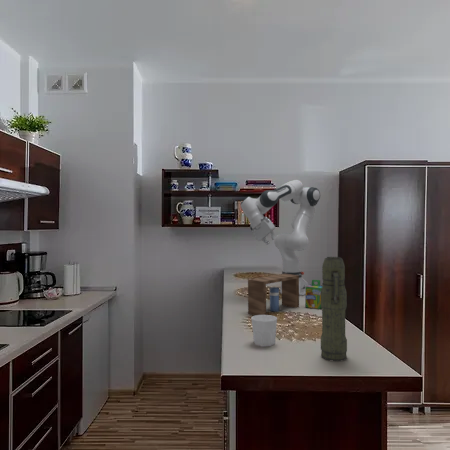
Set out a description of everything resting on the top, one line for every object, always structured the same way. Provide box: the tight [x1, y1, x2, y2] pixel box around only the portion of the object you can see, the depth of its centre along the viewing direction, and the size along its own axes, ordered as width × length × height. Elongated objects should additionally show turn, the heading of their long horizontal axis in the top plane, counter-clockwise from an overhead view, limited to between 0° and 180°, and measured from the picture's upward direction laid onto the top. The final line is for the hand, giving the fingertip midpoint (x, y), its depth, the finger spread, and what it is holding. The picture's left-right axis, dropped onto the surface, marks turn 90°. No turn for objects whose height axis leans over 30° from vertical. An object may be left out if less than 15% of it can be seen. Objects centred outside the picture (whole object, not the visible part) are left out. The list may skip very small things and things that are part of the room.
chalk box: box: [304, 279, 322, 310], centre depth 214 cm, size 9×9×15 cm
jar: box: [269, 286, 280, 312], centre depth 207 cm, size 5×5×12 cm
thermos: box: [320, 256, 348, 362], centre depth 137 cm, size 9×12×35 cm
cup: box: [250, 314, 278, 347], centre depth 153 cm, size 10×10×10 cm
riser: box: [247, 273, 300, 316], centre depth 207 cm, size 30×10×18 cm, turn 133°
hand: (271, 241), depth 228 cm, fingers open, 8 cm apart
